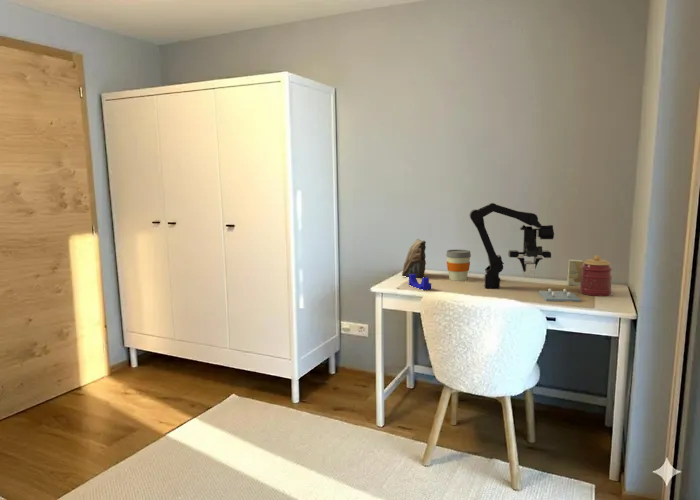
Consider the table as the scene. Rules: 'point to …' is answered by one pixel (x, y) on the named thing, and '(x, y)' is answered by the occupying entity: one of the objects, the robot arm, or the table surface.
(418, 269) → the brown tall pointed piece
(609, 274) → the canister
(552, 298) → the pin tray
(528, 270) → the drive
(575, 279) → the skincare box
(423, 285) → the cable clip
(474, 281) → the table surface
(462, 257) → the reusable coffee cup
